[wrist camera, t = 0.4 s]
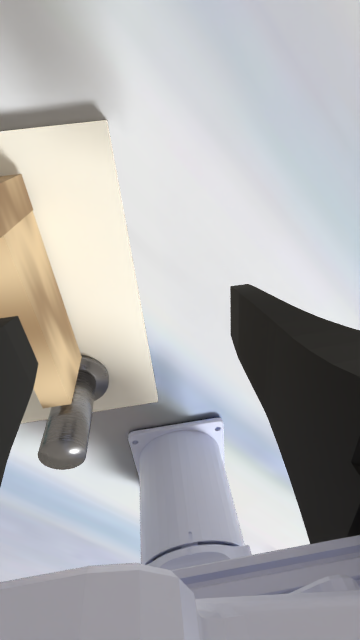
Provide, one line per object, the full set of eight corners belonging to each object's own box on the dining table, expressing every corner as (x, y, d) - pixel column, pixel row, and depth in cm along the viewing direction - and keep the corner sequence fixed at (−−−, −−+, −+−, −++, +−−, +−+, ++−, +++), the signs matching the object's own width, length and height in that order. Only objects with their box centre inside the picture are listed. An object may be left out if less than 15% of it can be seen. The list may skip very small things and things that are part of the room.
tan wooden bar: (82, 356, 20) (70, 409, 16) (57, 360, 20) (40, 414, 16) (21, 173, 14) (-18, 191, 11) (-15, 177, 14) (-67, 197, 11)
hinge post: (114, 386, 23) (108, 471, 18) (60, 394, 23) (36, 483, 17) (102, 343, 21) (91, 424, 16) (42, 352, 21) (8, 437, 15)
